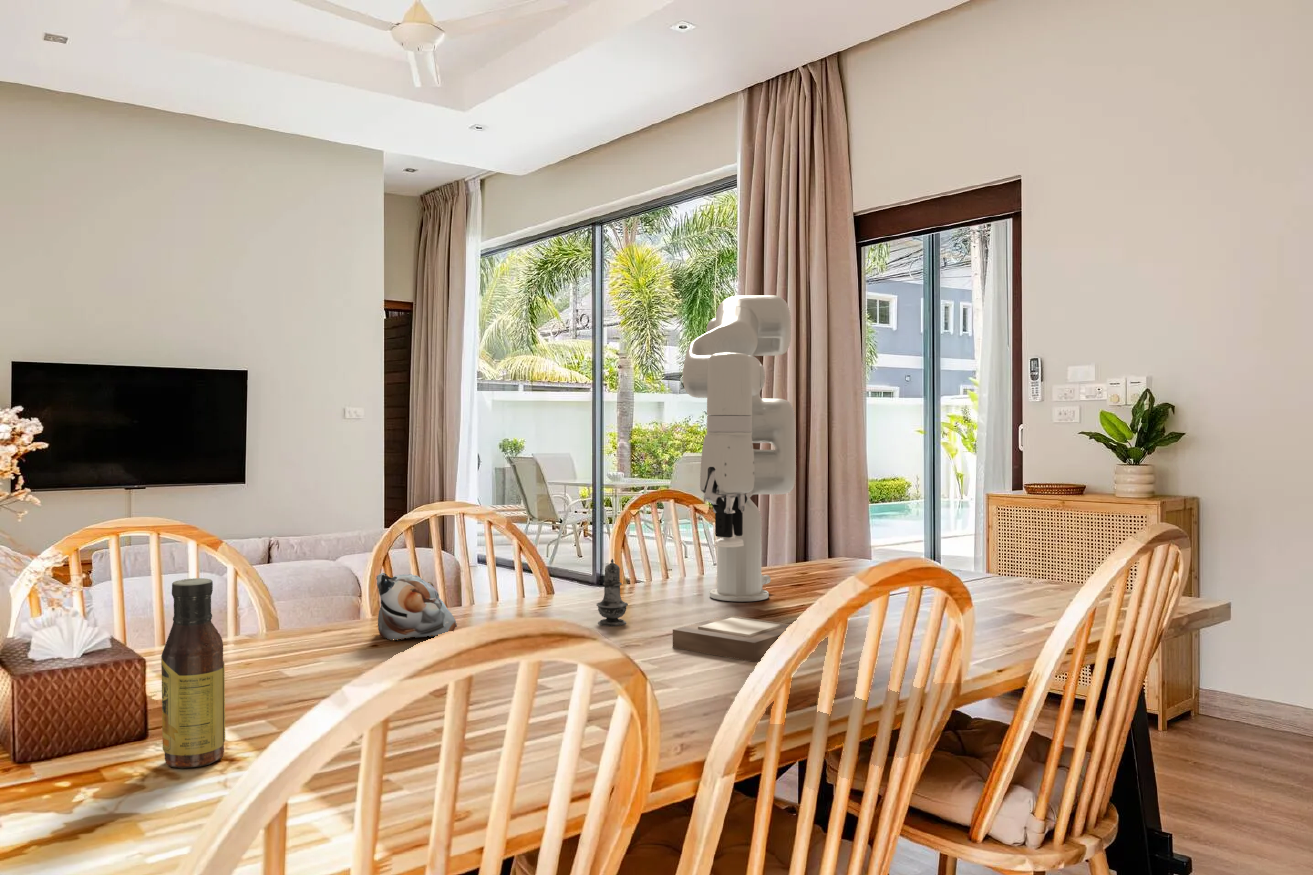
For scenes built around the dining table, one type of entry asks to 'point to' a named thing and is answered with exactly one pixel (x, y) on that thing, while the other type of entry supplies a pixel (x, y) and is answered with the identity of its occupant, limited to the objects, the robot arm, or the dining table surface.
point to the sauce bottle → (193, 680)
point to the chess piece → (732, 540)
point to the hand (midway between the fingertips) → (728, 535)
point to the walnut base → (729, 637)
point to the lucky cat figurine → (411, 608)
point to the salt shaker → (612, 598)
